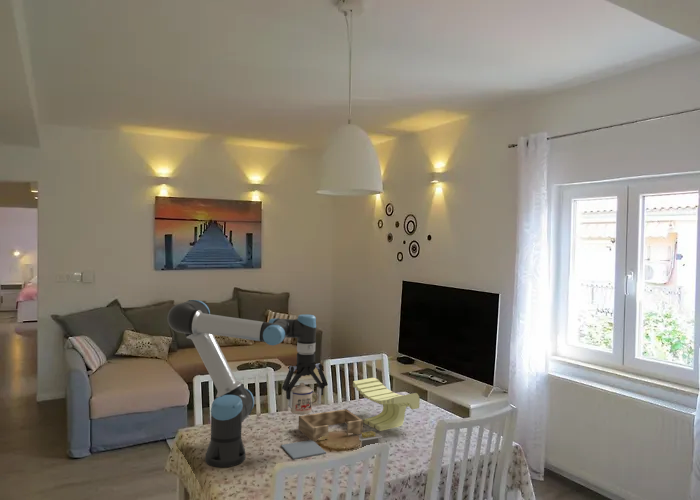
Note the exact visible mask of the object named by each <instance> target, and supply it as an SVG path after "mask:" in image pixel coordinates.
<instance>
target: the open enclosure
mask: <svg viewBox="0 0 700 500" xmlns="http://www.w3.org/2000/svg"><path fill="white" fill-rule="evenodd" d="M363 421H364V419H363V418H360V417H359V416H357V415H356V414H355V413H353V412H351V411H350V410H348V409H345V408H344V409H338V410H332V411H330V410H329V411H325V412H318V413H309V414H305V415H298V427H297V428H298V430H299V431H300V432H301V433H302V434H303V435H304V436H305V437H306V438H308V440H313V441H314V442H315V443H317V442H318V441H317V439H318V438H320V437H322V436H325V435H328V436H329V426H332V425H333V426H334V425H340V424H346V425H347V429H346V430H347V431H346V433H347V432H348V433H353V434H357V435H362V433H363V434H364V423H363ZM357 435H356V436H357ZM316 441H317V442H316Z"/></svg>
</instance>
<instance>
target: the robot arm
mask: <svg viewBox="0 0 700 500" xmlns="http://www.w3.org/2000/svg"><path fill="white" fill-rule="evenodd" d="M166 320H167V323H168V326H169V327H170V329H172V330H173V331H174V332H176V333H180V334H184V336H185V338H186V339H190V340H191V341H192V343H193V345H194V347H195V349H196V351H197V353H198V354H199V357H200V358H201V361H202V362H203V364H204V367H205V368H206V370H207V372H208V375H209V376H210V378H211V381H212V383H213V384H214V386H215V388H216V390H217V393H216V396H215V397H216V398H214V400H213V401H212V403H211V407H210V441H209V444H208V446H207V450H206V451H205V457H204V458H205V463H206V464H207V465H209V466H211V467H215V468H230V467H235V466H237V465H240V464H242V463H243V462H245V460H246V450H245V447H244V442H243V440H242V424H243V421H245V420H246V418H247V417H249V415H250V414H251V412H252V410H253V409H254V406H255V398H254V395H253V393H252V392H251V391H250V389H248V388H245V386H244V384H243V382H242V381H240V380H237V378H236V377H235V374H234V372H233V370H232V369H231V366H230V365H229V363H228V360H227V359H226V357H225V355H224V353H223V351H222V348H221V347H220V345H219V343H218V342H217V339H216V337H215V336H221V337H222V336H223V337H228V338H234V339H235V338H237V339H243V340H250V341H256V342H262V343H266V345H269V346H276V345H279V344H281V343H283V341H284V340H285V339H286V338H291V339H292V338H293V339H297V341H296V342H297V343H296V352H297V353H296V364H295V365H293V366H292V365H288V372H287V375H286V376H285V378H284V379H285V380H284V382H283V384H282V386H281V390H283V391H284V392H285V393H286V396H285V398H286V400H287V401H288V402H287V407H288V408H289V409H291V408H292V401H293V392H292V391H291V390H292V389H293V387H296V384H297V382H299V380H300V379H301V378H302V377H307V376H308V377H309V376H311V377H312V378H313V380H314V381H315V382H316V384H317V385H318V386H316V393H317V394H318V395H319V398H318V401H317V402H316V404H318V405H322V396H324V389H325V387H328V381H327V378H326V376H325V373H324V371H323V364H321V363H320V362H317V363H316V353H315V352H316V345H317V344H316V342H317V339H316V338H317V336H316V335H317V322H316V321H317V317H316V316H315V315H313V314H298V315H297V318H295V319H294V318H293V319H291V318H279V317H278V318H270V319H269V320H268V322H266V321H259V320H252V319H247V318H239V317H238V318H237V317H231V316H224V315H217V314H211V311H210V308H209V306H208V304H206V303H205V302H204V301H201V300H199V299H198V300H197V299H190V300H187V301H184V302H181V303H177V304H176V305H173V306H172V307H171V309H169V311H168V314H167V319H166ZM315 369H317V372H318V375H319V377H320V378H319V377H318V375H317V374H316V373H315ZM295 371H296V373H295V374H294V372H295ZM292 377H293V378H292Z"/></svg>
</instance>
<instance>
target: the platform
mask: <svg viewBox="0 0 700 500" xmlns="http://www.w3.org/2000/svg"><path fill="white" fill-rule="evenodd" d="M358 438H359V439H358V440H359V441H361V447H364V446H366V445H370V444H375V443H378V444H379V438H380V439H381V438H382V435H381V434H379V433H376V432H375V430H372V431H371V430H370V431H365V432H364V431H363V433H362V434H359V436H358Z"/></svg>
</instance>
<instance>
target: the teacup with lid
mask: <svg viewBox="0 0 700 500" xmlns="http://www.w3.org/2000/svg"><path fill="white" fill-rule="evenodd" d="M291 391H292V392H293V401H292V408H290V412H291V414H294V415H298V416H302V415H309V414H312V411H313V405H315V404H317V401H318V398H319V395H318V394H317V391H316V392H315V391H314V390H313V388H312V387H310V386H307V385H305V383H304V382H299V385H295V386H294V387H293V389H292V390H291ZM313 395H315V397H316V398H315V400H314V401H313Z"/></svg>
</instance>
